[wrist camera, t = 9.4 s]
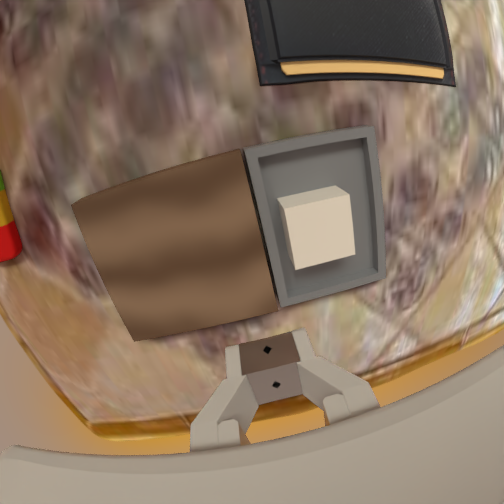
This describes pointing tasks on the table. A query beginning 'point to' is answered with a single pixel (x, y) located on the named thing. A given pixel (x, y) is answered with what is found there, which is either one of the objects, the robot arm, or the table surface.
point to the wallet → (350, 41)
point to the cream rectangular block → (317, 226)
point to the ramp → (180, 247)
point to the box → (316, 177)
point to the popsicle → (7, 229)
